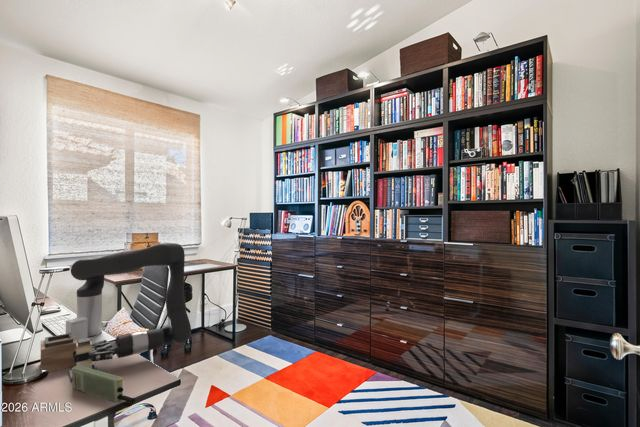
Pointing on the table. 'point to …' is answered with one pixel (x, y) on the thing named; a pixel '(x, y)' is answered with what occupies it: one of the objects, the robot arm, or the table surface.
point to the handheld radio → (99, 384)
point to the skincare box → (78, 327)
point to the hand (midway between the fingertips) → (74, 356)
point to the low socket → (92, 367)
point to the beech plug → (84, 351)
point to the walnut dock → (58, 352)
